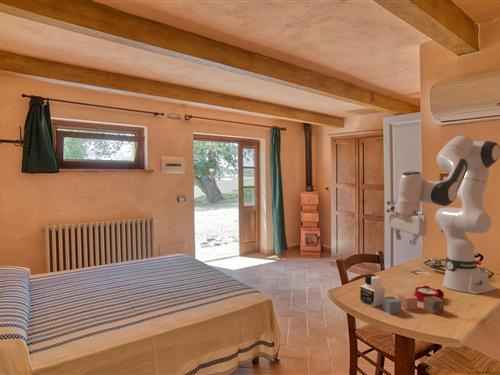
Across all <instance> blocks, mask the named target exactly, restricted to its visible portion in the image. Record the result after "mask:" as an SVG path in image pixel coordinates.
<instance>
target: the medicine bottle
mask: <svg viewBox="0 0 500 375" xmlns="http://www.w3.org/2000/svg"><path fill="white" fill-rule="evenodd" d="M385 290H386V289H385V287H383V286H381V277H380V276H379V275H376V274H372V273H369V274H366V275H365V277H364V284H363V285H360V295H359V297H360V298H359V301H360V303H363V304H365V305H366V306H367V305H368V306H370V307H372V308H376V307H380V306H382V297H386V295H385V294H386V293H385V292H386V291H385Z"/></svg>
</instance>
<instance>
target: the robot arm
mask: <svg viewBox="0 0 500 375" xmlns="http://www.w3.org/2000/svg"><path fill="white" fill-rule="evenodd" d="M499 159H500V145H499V144H498V142H496V141H490V140H487V141H484V140H473V139H471V137H469V136H466V135H457V136H455V137H454V138H452V139H451V140H449V141H448V142H447V143H446V144H445V145H444V146H443V147H442V148H441V149H440V150H439V152H438V153H437V155H436V163H437V166H438V167H439V168H440V169H441V170H442V171H444V172H446V173H449V174H448V176H447V177H446V179H444V180H427V179H425V178H424V177H423V176H422V172H420V171H406V172H403V173H401V175H400V177H399V183H398V191H397V192H398V199H397V202H396V204H394V205H390V206H389V214H388V226H389V228H392V229H393V230H394V234H395V240H397V241H401V240H402V235H401V232H406V233H409V234H411V237H412V239H410V240H409V244H410V245H413V246H416V245H417V241H418V239H419V238H420V237H423V236H424V237H425V236H427V233H428V221H427V216H426V214H424V213H425V212H421V204H422V203H424V204H431V205H438V206H442V207H441V208H439V209H438V210H437V211H436V213H435V214H434V216H435V217H434V220H435V222H436V224H437V225H438V226H439V227H440V228H441V229H442V232H443V233H444V236H445V238H446V244H447V245H446V247H447V248H446V250H447V253H446V255H447V256H446V257H445V272H444V278H443V280H442V286H443V287H445V288H446V289H450V290H452V291H456V292H460V293H462V292H463V293H468V294H474V295H478V294H483V293H488V292H492V291H495V290H496V287H494V286H493V285H491V284H490V280H489V276H488V275H487V274H486V273H484V272H483V271H482V270H480V269H479V268H478V266H482V264H483V262H482V261H481V260H475V248H476V247H475V244H474V242H473V241H472V240H471V239H470V238H469V237H468V236H467V234H466V233H471V234H485V233H487V232H488V231H489V230H490V229H491V227H492V224H493V223H492V222H493V220H492V218H491V215H490V214H489V213H488V212H487V211H486V210H485V207H484V203H483V202H484V201H483V200H484V195H485V191H486V187H487V183H488V179H489V175H490V174H489V173H490V167H491V166H492V165H493V164H494V165H495V163H496V162H497V161H498V160H499ZM456 198H458V200H460V201H461V207H455V206H454V207H453V206H449V205H451V204H452V203H453V202H454V201H455V200H456ZM448 206H449V207H448Z"/></svg>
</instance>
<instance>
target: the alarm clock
mask: <svg viewBox="0 0 500 375" xmlns="http://www.w3.org/2000/svg"><path fill="white" fill-rule="evenodd" d="M414 291H415V292H411V295H413V296H415V297H417V301H419V302H420V303H424V297H432V296H435V297H437V298H439V299H441V300H443V299H444V297H445V294H444V291H443V290H442V289H439V288H437V289H436V288H432V287H430V286H429V285H422V286H417V287H415V290H414Z"/></svg>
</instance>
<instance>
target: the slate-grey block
mask: <svg viewBox="0 0 500 375" xmlns="http://www.w3.org/2000/svg"><path fill="white" fill-rule="evenodd" d="M381 307H382V308H381V309H382V310H383V311H385V312H386V313H387V314H389V315H397V314H398V315H399V314H402V307H401V301H400V300H399V298H396V297H394V296H385V297H382V305H381Z"/></svg>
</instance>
